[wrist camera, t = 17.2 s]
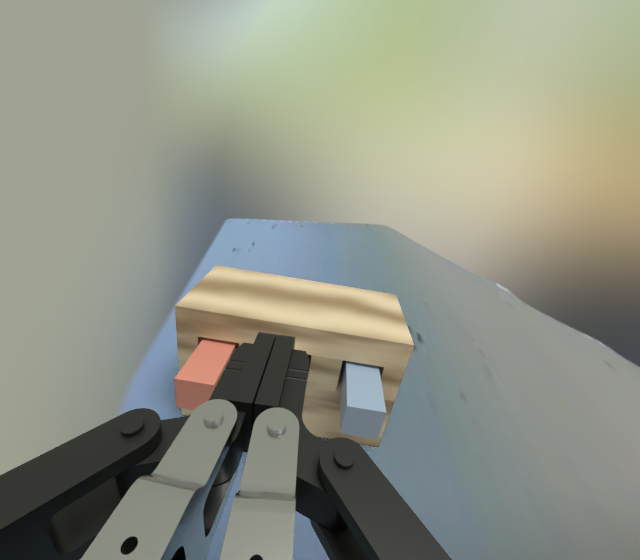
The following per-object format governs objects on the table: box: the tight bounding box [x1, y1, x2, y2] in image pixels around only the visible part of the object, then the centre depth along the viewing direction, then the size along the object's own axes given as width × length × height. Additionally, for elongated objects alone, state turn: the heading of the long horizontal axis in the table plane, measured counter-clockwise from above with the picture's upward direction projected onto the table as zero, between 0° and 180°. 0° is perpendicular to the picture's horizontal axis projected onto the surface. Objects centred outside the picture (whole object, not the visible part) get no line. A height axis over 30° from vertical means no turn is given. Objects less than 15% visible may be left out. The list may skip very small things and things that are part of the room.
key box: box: [175, 265, 414, 447], centre depth 35 cm, size 10×22×14 cm, turn 85°
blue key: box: [340, 360, 386, 439], centre depth 30 cm, size 11×3×3 cm, turn 175°
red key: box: [175, 338, 239, 410], centre depth 30 cm, size 11×3×3 cm, turn 175°
